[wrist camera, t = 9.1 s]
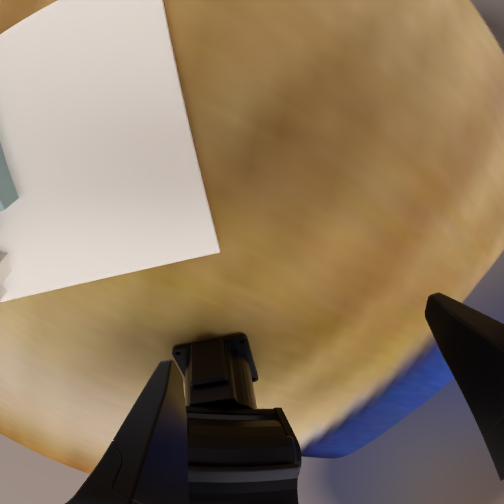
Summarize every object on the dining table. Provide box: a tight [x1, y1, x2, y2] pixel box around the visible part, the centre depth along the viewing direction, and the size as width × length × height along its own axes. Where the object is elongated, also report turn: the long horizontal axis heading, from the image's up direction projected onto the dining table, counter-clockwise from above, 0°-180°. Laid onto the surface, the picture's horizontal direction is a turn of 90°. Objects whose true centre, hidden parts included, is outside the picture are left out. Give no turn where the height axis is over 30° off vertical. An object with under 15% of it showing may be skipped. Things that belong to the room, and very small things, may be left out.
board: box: [0, 0, 220, 302], centre depth 16 cm, size 19×24×1 cm
